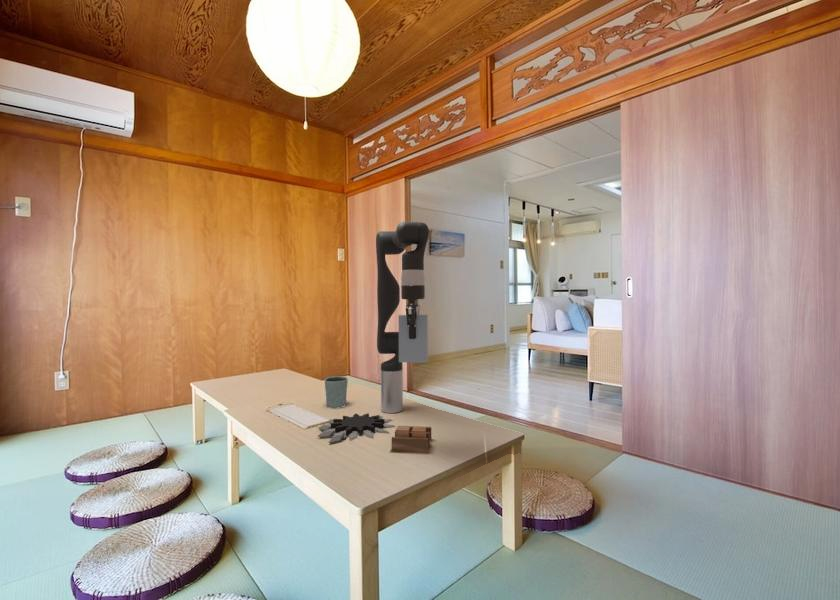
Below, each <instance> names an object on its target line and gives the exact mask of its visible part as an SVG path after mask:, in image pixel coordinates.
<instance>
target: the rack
mask: <svg viewBox="0 0 840 600" xmlns="http://www.w3.org/2000/svg"><path fill="white" fill-rule="evenodd" d="M397 427H410V437H396V430H395V431H394V436H392V437H391V449H390V451H389V453H393V454H394V453H395V454H409V455H410V454H411V455H412V454H416V455H430V453H431V452H430V451H431V448H432V445H433V440H434V439H433V438H432V426H424V427H425V428H426V438H412V429H413V427H419V426H415V425H412V426H411V425H398V426H397Z"/></svg>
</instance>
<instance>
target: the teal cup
mask: <svg viewBox="0 0 840 600" xmlns="http://www.w3.org/2000/svg"><path fill="white" fill-rule="evenodd" d="M348 380H349V379H348V377H345V376H329V377H326V378H325V379H324V388H325V402H326V403H325V405H326V408H328V407H331V408H330V409H338V408H337V407H341V408H343V407H342V406H344V405H346V406H347V392H348V391H347V390H348ZM344 407H345V406H344Z"/></svg>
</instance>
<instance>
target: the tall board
mask: <svg viewBox="0 0 840 600" xmlns="http://www.w3.org/2000/svg"><path fill="white" fill-rule="evenodd" d="M428 316H429V315H428V314H419V315H418V319H417V320H416V338H415V339H409V327H408V325H407V317H406V314H398V332H399V362H402V363H417V364H418V363H423V364H425V363H428V362H429V350H428V349H429V346H428V345H429V340H428V339H429V338H428V337H429V333H428V332H429V331H428V330H429V327H428V326H429V325H428V324H429V323H428V322H429V321H428V320H429V319H428ZM410 322H413V320H410Z"/></svg>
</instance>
